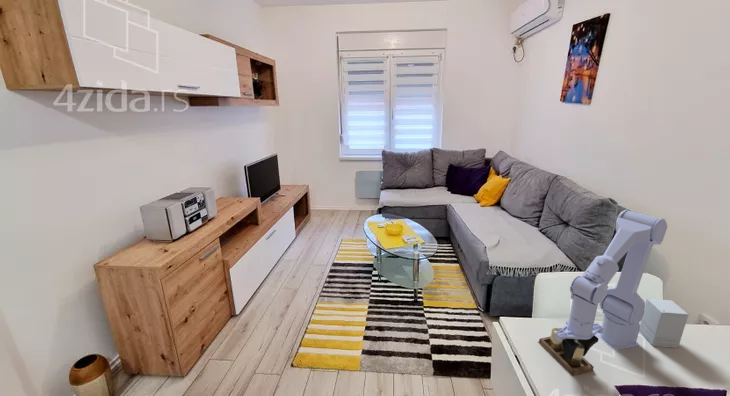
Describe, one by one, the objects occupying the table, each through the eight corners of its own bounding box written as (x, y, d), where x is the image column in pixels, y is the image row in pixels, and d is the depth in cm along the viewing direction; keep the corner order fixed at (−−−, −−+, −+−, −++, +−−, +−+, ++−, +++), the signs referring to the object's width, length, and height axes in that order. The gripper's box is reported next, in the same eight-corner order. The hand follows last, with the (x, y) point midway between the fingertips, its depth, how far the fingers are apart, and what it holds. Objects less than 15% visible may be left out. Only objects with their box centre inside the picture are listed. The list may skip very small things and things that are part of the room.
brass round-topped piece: (557, 342, 102) (559, 327, 101) (566, 351, 99) (570, 335, 97) (546, 344, 102) (548, 329, 100) (555, 354, 98) (558, 338, 96)
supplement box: (679, 348, 99) (690, 314, 95) (651, 346, 100) (661, 312, 96) (663, 332, 106) (672, 299, 102) (637, 329, 107) (646, 297, 103)
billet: (584, 364, 93) (587, 348, 91) (574, 368, 92) (577, 352, 90) (572, 354, 96) (575, 338, 95) (562, 358, 95) (564, 342, 93)
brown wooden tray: (557, 338, 105) (558, 334, 104) (594, 372, 92) (595, 367, 91) (537, 343, 103) (537, 338, 103) (571, 378, 90) (572, 372, 90)
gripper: (591, 304, 94) (583, 341, 99) (549, 312, 92) (542, 349, 96) (613, 319, 88) (604, 358, 92) (568, 328, 85) (561, 368, 89)
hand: (574, 355), depth 93 cm, fingers closed on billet, 4 cm apart
